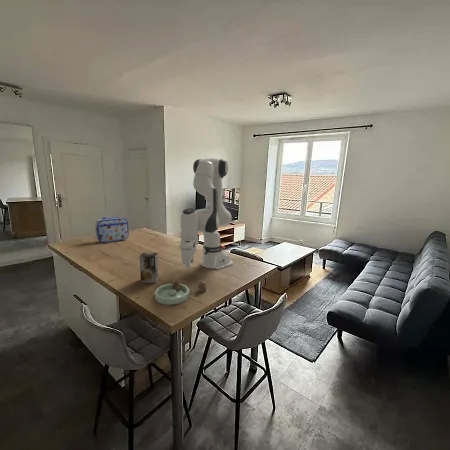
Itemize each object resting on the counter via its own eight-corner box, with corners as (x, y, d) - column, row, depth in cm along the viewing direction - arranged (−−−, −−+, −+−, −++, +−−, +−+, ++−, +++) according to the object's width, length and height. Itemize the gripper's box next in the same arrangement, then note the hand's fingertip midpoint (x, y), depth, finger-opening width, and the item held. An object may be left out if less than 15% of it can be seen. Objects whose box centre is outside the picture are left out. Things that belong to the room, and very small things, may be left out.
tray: (181, 285, 136) (181, 280, 135) (194, 299, 122) (194, 293, 121) (151, 292, 127) (151, 287, 126) (161, 308, 113) (161, 302, 112)
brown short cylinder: (203, 288, 134) (203, 280, 133) (207, 291, 131) (207, 282, 130) (197, 290, 132) (197, 281, 131) (200, 293, 129) (200, 284, 128)
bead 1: (171, 291, 127) (171, 282, 126) (174, 287, 131) (174, 279, 130) (178, 292, 127) (178, 283, 126) (181, 288, 130) (181, 280, 129)
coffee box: (159, 278, 145) (158, 252, 142) (156, 282, 139) (155, 256, 135) (143, 277, 145) (142, 252, 141) (140, 282, 138) (139, 255, 135)
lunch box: (97, 244, 206) (95, 219, 201) (94, 241, 213) (92, 217, 209) (130, 239, 223) (128, 216, 218) (126, 237, 231) (125, 214, 226)
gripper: (187, 235, 135) (187, 258, 138) (179, 246, 115) (179, 273, 118) (198, 235, 134) (198, 258, 137) (192, 246, 114) (192, 274, 118)
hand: (189, 265), depth 127 cm, fingers open, 8 cm apart
